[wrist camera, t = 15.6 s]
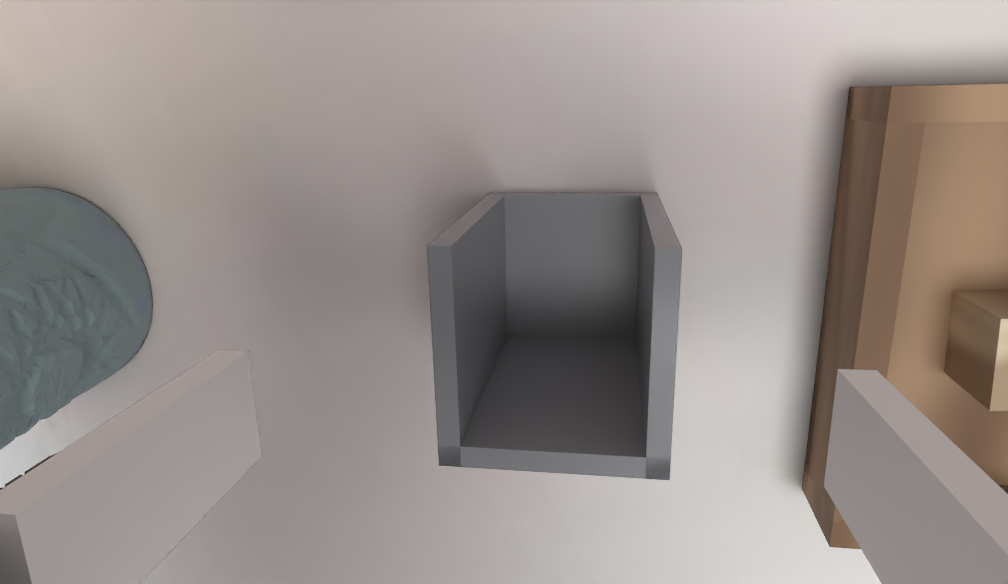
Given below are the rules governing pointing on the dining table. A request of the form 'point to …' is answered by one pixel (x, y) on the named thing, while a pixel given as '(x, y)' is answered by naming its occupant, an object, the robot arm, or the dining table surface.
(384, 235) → the dining table surface
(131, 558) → the robot arm
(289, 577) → the dining table surface
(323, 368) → the dining table surface
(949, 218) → the tray
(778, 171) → the dining table surface
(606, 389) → the grey open box
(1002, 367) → the cube
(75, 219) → the blue-grey cup
